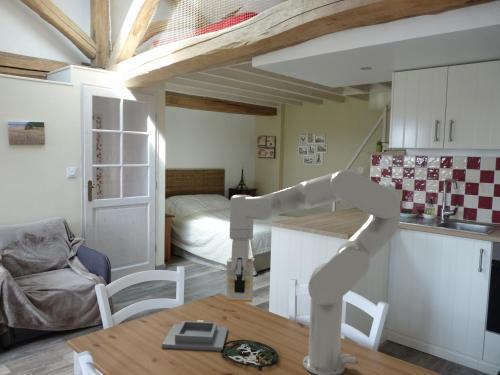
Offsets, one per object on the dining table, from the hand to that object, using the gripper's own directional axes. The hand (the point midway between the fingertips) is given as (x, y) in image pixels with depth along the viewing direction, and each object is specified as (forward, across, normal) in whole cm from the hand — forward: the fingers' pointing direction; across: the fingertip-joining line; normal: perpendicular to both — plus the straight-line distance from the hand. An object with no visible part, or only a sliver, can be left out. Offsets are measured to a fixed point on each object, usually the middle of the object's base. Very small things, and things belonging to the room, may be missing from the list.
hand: (240, 289), depth 129 cm
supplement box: (+4, 0, 0) cm, 4 cm away
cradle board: (+21, -9, -15) cm, 27 cm away
